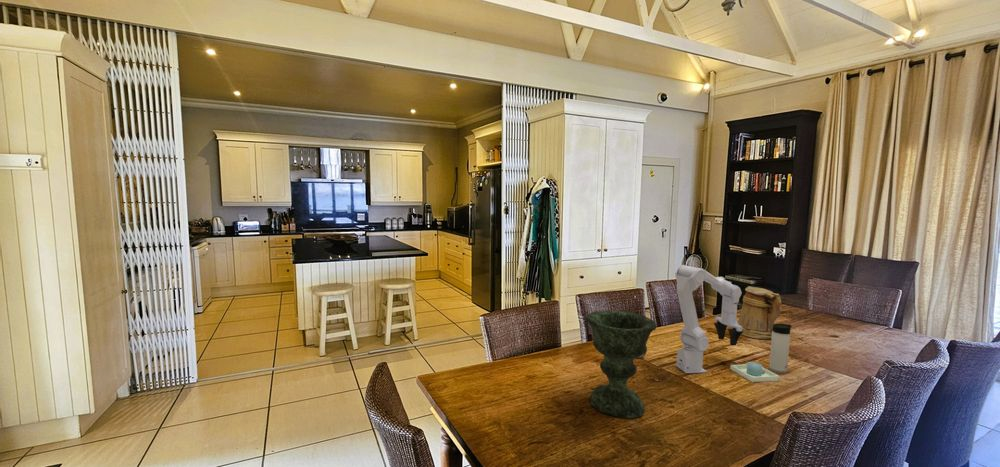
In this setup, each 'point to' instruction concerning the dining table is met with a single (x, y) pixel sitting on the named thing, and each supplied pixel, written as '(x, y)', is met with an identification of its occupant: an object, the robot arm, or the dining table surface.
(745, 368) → the tray
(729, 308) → the robot arm
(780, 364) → the travel mug
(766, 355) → the dining table surface
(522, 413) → the dining table surface
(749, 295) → the tankard
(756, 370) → the tabbed cylinder
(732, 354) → the dining table surface
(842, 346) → the dining table surface
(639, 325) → the goblet
